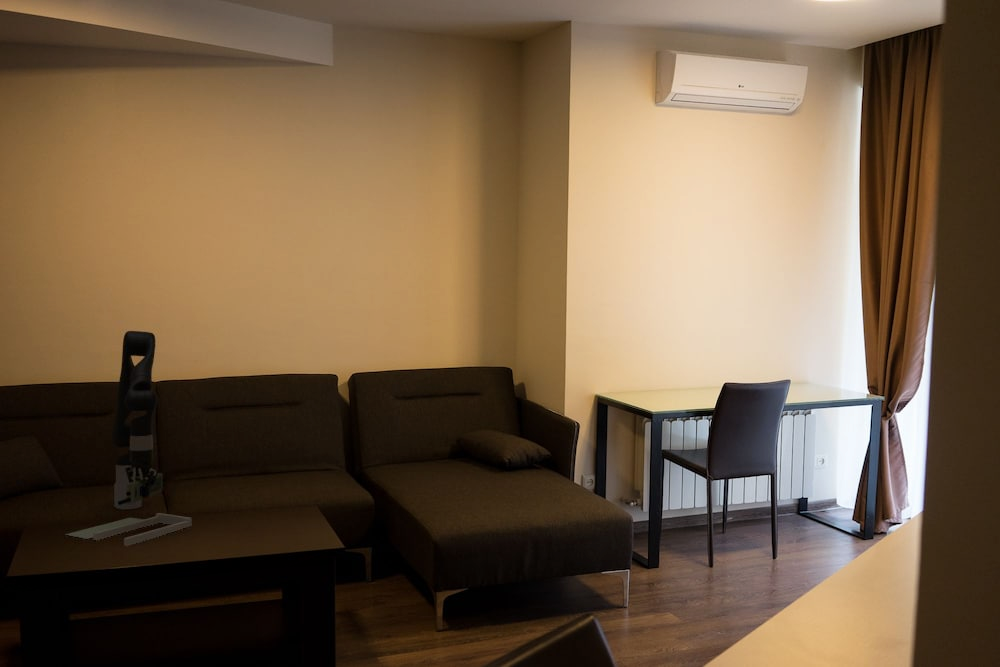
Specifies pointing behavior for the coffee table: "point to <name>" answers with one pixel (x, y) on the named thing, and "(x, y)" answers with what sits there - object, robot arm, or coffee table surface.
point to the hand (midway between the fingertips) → (141, 496)
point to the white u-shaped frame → (174, 520)
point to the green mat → (102, 528)
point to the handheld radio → (136, 490)
